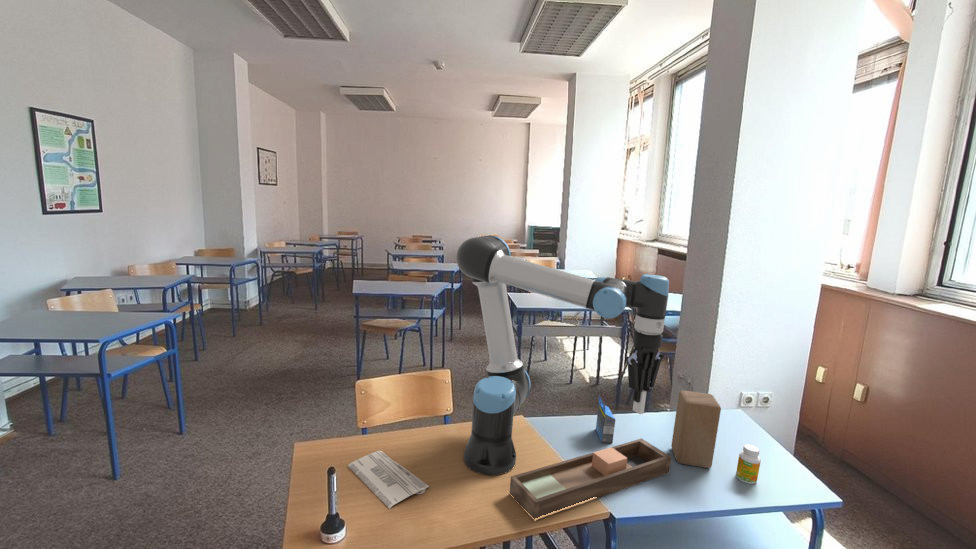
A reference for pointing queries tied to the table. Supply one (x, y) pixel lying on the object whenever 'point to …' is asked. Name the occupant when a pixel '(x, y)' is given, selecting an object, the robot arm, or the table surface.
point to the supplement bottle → (748, 464)
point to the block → (695, 428)
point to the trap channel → (585, 478)
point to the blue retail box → (605, 423)
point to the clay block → (609, 461)
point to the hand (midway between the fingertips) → (638, 411)
